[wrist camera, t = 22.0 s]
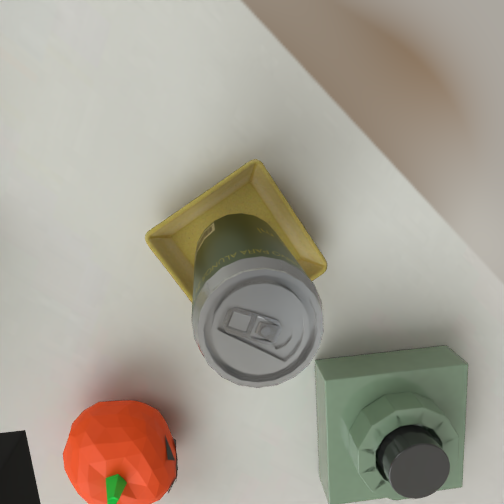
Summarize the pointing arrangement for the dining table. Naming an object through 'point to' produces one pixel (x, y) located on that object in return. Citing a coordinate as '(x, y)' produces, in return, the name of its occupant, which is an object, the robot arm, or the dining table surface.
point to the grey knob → (413, 461)
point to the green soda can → (253, 304)
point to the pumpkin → (121, 454)
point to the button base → (386, 415)
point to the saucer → (225, 203)
